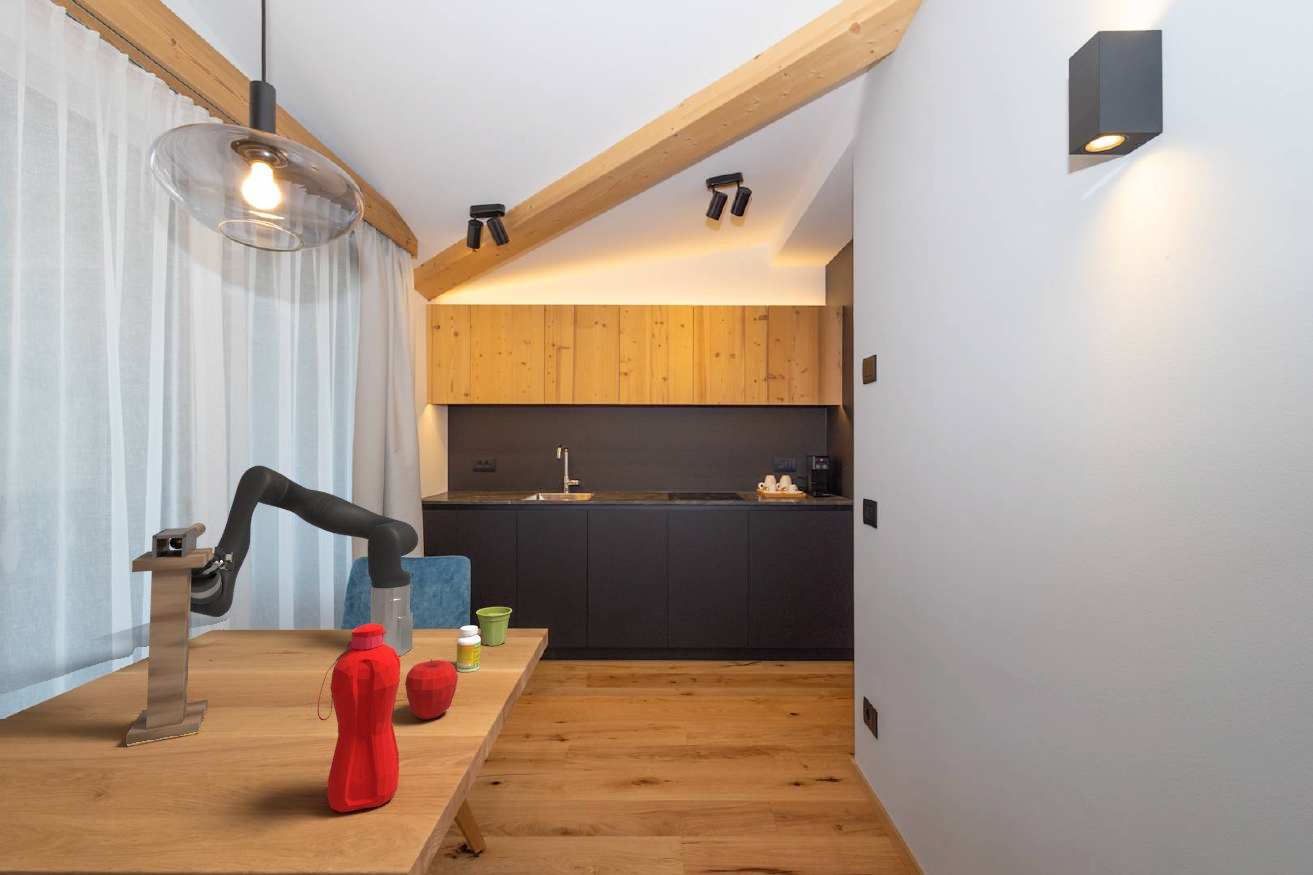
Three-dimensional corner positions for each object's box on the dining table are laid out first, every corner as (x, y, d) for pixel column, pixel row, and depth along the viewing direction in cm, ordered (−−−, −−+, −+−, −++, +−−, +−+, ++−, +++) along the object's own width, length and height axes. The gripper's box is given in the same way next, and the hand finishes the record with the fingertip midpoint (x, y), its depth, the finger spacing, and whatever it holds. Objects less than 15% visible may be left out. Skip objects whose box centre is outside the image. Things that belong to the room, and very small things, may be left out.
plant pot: (473, 640, 164) (473, 608, 165) (507, 636, 168) (508, 605, 169) (478, 650, 156) (479, 616, 156) (514, 645, 160) (515, 612, 160)
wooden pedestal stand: (142, 720, 113) (148, 551, 114) (207, 709, 118) (212, 547, 120) (125, 747, 103) (132, 560, 104) (198, 733, 108) (203, 556, 109)
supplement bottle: (476, 672, 139) (476, 630, 140) (453, 672, 140) (453, 630, 140) (483, 664, 145) (483, 624, 145) (461, 664, 145) (461, 624, 145)
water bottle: (321, 788, 90) (325, 621, 91) (399, 775, 94) (402, 615, 95) (309, 823, 82) (313, 638, 83) (396, 807, 86) (399, 631, 86)
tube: (190, 535, 135) (190, 523, 135) (205, 534, 136) (205, 522, 136) (169, 549, 114) (169, 535, 114) (187, 548, 116) (188, 534, 116)
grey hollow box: (165, 550, 116) (166, 528, 116) (196, 548, 118) (196, 527, 118) (151, 559, 105) (152, 535, 106) (185, 557, 108) (186, 534, 108)
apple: (439, 729, 110) (440, 669, 111) (393, 724, 112) (394, 665, 113) (466, 707, 120) (467, 652, 120) (423, 703, 122) (424, 649, 122)
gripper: (164, 565, 139) (152, 537, 127) (238, 560, 146) (233, 533, 134) (159, 596, 135) (146, 571, 124) (235, 590, 143) (230, 565, 131)
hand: (192, 551), depth 129 cm, fingers open, 8 cm apart
